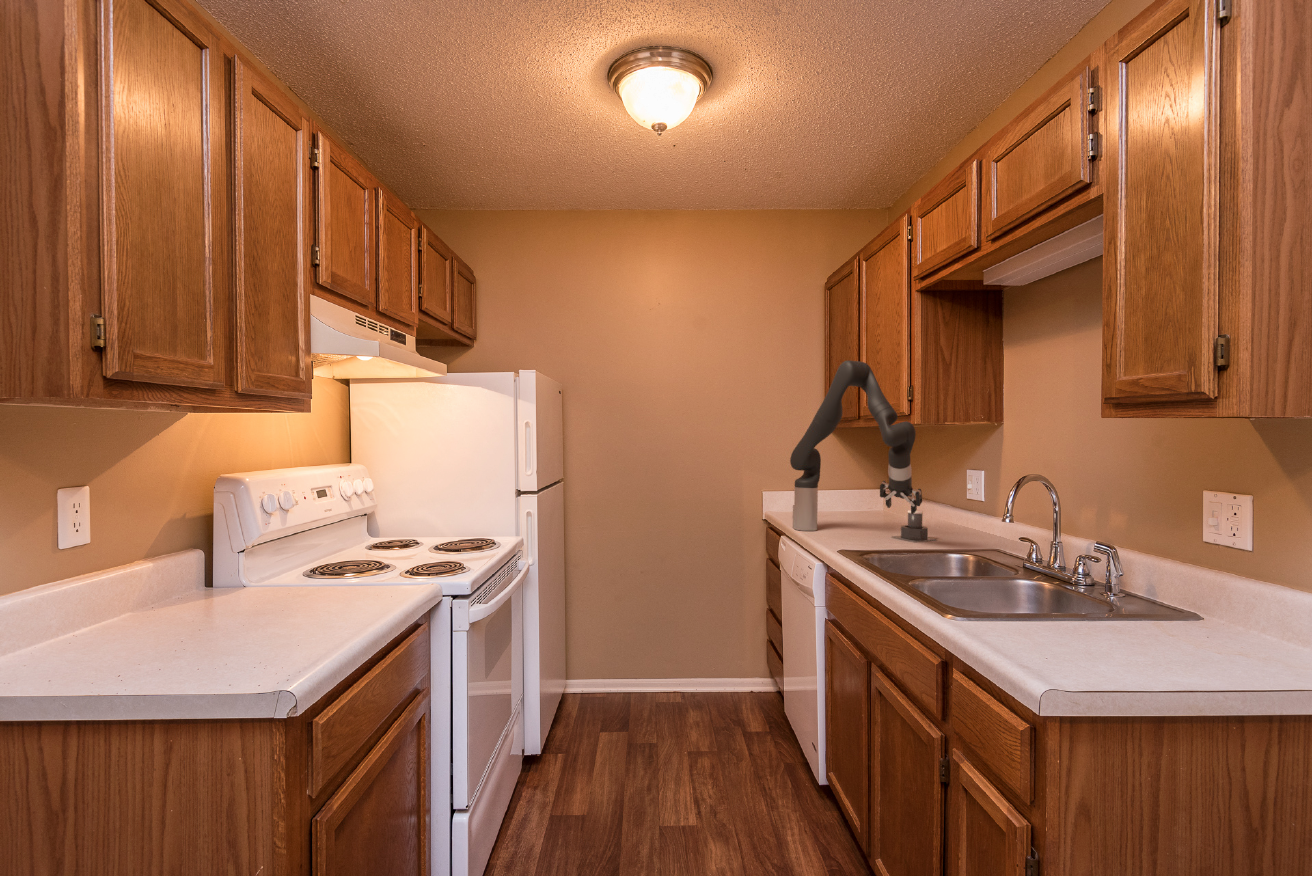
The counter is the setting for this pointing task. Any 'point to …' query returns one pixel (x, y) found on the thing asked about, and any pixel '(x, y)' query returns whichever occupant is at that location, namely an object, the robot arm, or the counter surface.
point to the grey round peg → (915, 519)
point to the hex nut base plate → (914, 534)
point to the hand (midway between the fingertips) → (901, 509)
